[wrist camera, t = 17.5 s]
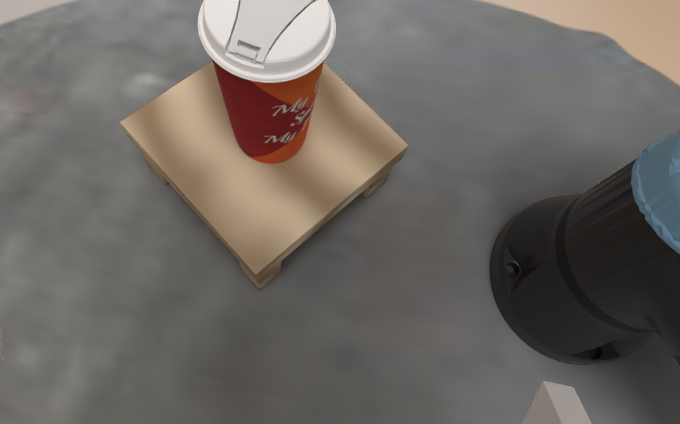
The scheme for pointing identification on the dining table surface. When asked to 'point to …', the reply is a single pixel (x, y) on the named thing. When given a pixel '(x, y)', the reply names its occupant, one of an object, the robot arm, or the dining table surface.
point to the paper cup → (268, 68)
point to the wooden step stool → (263, 166)
